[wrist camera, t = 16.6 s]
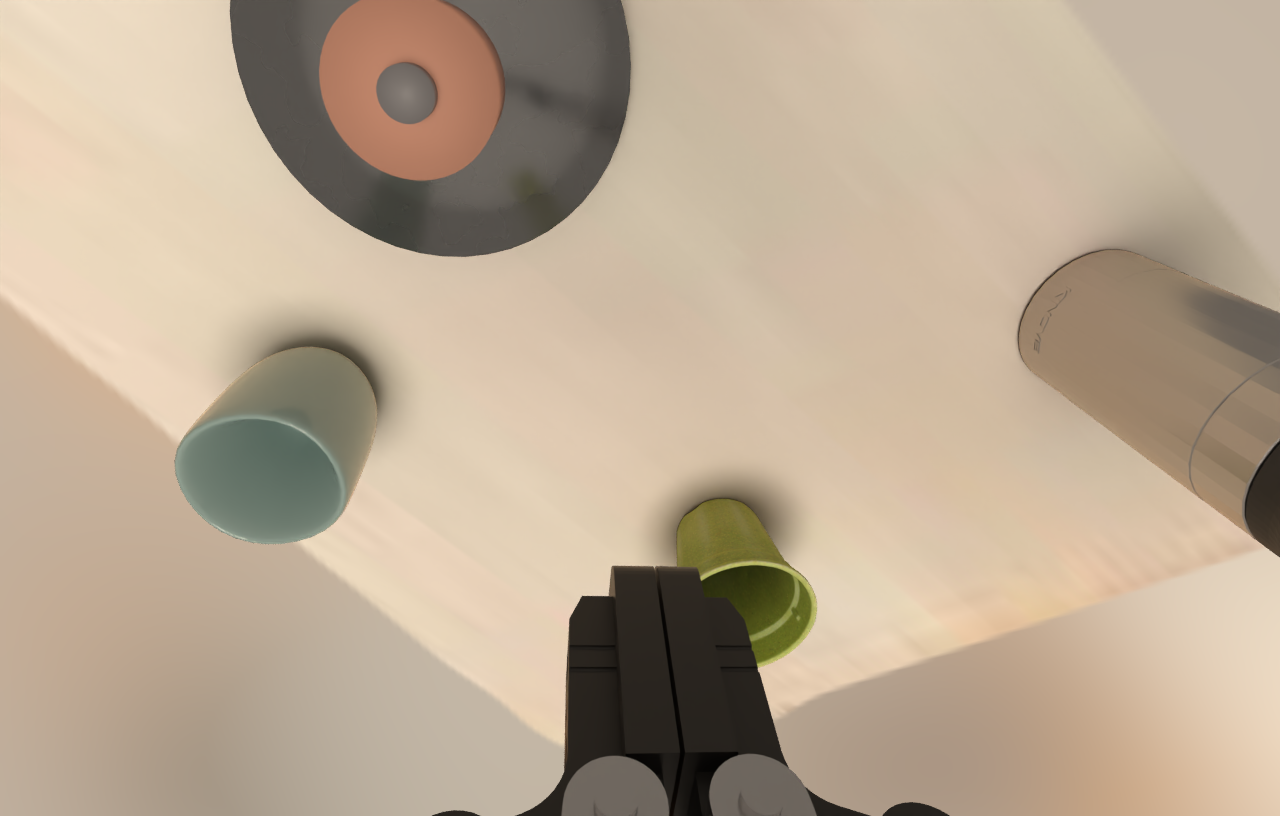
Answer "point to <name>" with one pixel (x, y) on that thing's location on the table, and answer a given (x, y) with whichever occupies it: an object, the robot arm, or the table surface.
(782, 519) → the table surface
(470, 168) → the platter
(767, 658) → the plant pot
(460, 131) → the cap
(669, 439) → the table surface
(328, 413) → the cup
